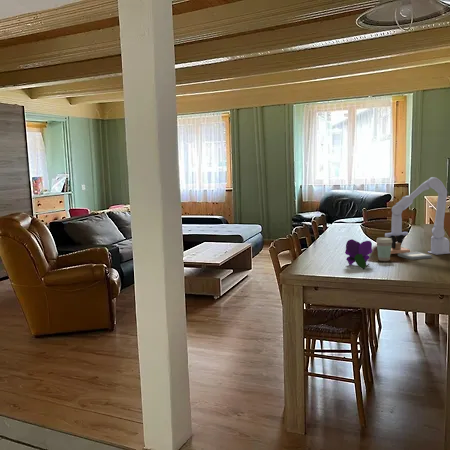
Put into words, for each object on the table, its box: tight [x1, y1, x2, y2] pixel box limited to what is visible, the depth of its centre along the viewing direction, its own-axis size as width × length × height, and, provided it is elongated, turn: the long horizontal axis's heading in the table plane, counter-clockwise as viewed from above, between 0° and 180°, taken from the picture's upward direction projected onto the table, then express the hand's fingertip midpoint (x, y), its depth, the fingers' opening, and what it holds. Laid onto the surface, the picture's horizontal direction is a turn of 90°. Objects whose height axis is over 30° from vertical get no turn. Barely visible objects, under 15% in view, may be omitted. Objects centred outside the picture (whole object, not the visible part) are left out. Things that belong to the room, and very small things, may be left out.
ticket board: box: [397, 251, 433, 261], centre depth 261 cm, size 13×12×2 cm
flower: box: [344, 238, 373, 270], centre depth 240 cm, size 15×15×14 cm
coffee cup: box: [375, 236, 392, 262], centre depth 255 cm, size 8×9×12 cm
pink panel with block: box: [390, 241, 411, 255], centre depth 276 cm, size 13×8×6 cm, turn 105°
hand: (396, 248), depth 277 cm, fingers closed on pink panel with block, 3 cm apart
